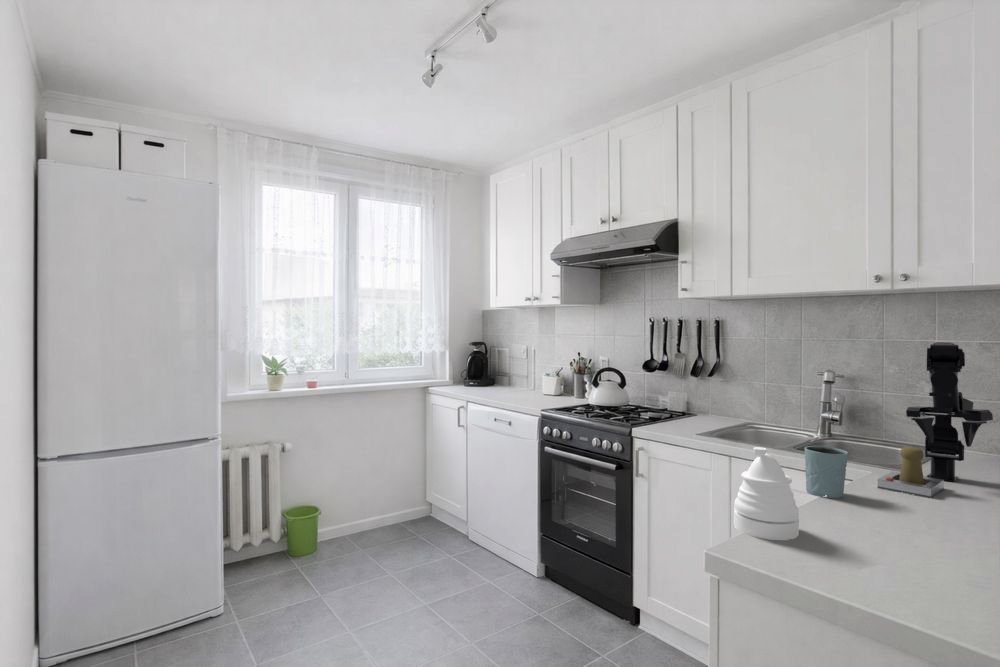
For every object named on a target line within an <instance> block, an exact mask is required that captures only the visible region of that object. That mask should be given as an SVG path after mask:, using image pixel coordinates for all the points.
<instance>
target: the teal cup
mask: <svg viewBox="0 0 1000 667" xmlns="http://www.w3.org/2000/svg"><path fill="white" fill-rule="evenodd" d="M804 459H805V461H804V462H805V468H804V471H805V480H806V481H805V487H806V488H805V491H806V493H807V494H810V495H812V496H815V497H819V498H824V497H823V496H825V495H827V497H829V498H828V499H842V498H843V496H844V491H845V490H844V489H845V481H846V475H847V465H848V459H849V452H848V451H846V450H844V449H842V448H837V447H831V446H824V445H823V446H822V445H809V446H805V447H804Z"/></svg>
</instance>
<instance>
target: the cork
mask: <svg viewBox="0 0 1000 667" xmlns="http://www.w3.org/2000/svg"><path fill="white" fill-rule="evenodd" d="M899 454H900V456H901V458H902V461H901V467H900V478H899V481H904V482H910V483H916V484H921V485H924V478H923V477H924V473H923V467H922V460H923V458H924V451H923V450H922V449H920V448H917V447H915V446H914V447H913V446H905V447H901V449H900V453H899Z"/></svg>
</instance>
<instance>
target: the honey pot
mask: <svg viewBox="0 0 1000 667" xmlns="http://www.w3.org/2000/svg"><path fill="white" fill-rule="evenodd" d="M753 453H754V455H755V456H756V458H755V459H754V460H753V461H752V462H751V464H750V466H749V468H748V470H745V471H743V472H742V473H741V475H740V476H741V478H742V479H743V480H742V484H741V485H740V486H739V488H738V489H739V490H738V492H737V497H736V498H735V500H734V503H733V505H734V507H733V508H734V510H733V526H734V527H735V529H736V530H737V531H739V532H741V533H743V534H745V535H748V536H751V537H755V538H758V539H763V540H769V541H790V540H789V539H792V540H794V538H795V539H797V538H798V537H799V536H800V535H799V532H800V531H799V530H800V529H799V527H800V526H799V525H800V516H799V515H800V510H799V508H798V506H797V504H796V502H797V501H796V499H795V498H794V492H793V491H792V488H791V485H790V484H792V482H793V479H792V478H791V477H790V476H789V475H787V474H786V473H785V472H784V470H783V468H782V466H781V464H780V463H779V462H778V460H777V459H776V458H775V456H773V455H771V454H769V453H767V448H765V447H761V446H757V447H756V446H755V447H753ZM749 530H751V531H749ZM748 531H749V532H748ZM745 532H747V533H745ZM797 536H798V537H797ZM796 537H797V538H796Z"/></svg>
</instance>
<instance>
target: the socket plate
mask: <svg viewBox="0 0 1000 667" xmlns="http://www.w3.org/2000/svg"><path fill="white" fill-rule="evenodd" d="M900 472H901V471H900ZM900 472H899V471H892V470H891V471H890V472H889V473H886V474H885V475H883V476H881V477H879V478H877V488H878V489H881V490H886V489H887V490H888V491H891V490H892V492H896V491H897V493H901V492H903V494H907V493H908V495H912V494H914V495H913V496H917V495H919V496H918V497H922V496H923V498H927V497H928V499H932V498H933V497H935V496H936V495H938V494H939V493H940V492H942V491H943V490H944V489H945V482H944V481H945V480H941V479H935V478H929V477H927V476H923V478H924V485H921V484H916V483H910V482H904V481H899V478H900ZM887 490H886V491H887ZM941 490H942V491H941ZM934 495H935V496H934Z"/></svg>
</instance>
